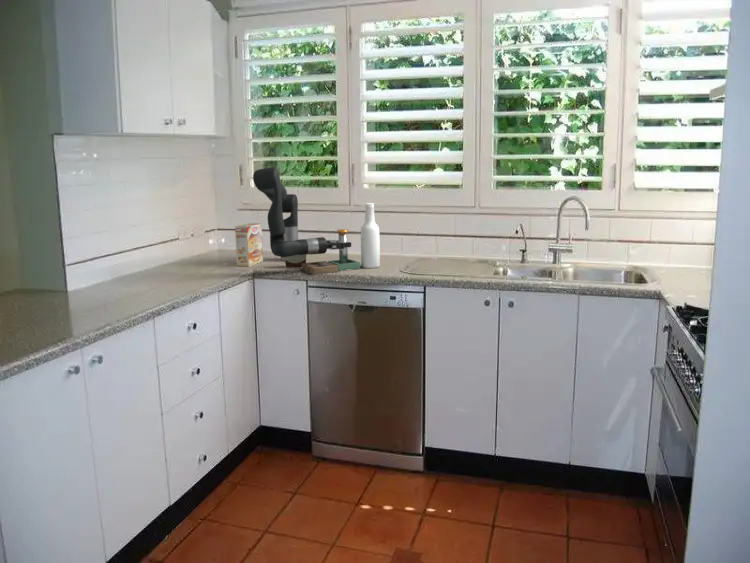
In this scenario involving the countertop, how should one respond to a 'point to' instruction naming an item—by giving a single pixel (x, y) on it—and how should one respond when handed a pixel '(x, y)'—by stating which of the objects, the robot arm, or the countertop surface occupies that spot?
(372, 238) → the alcohol
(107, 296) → the countertop surface
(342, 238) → the pin
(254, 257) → the coffeecake box
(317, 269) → the block
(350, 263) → the tray
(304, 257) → the food container
